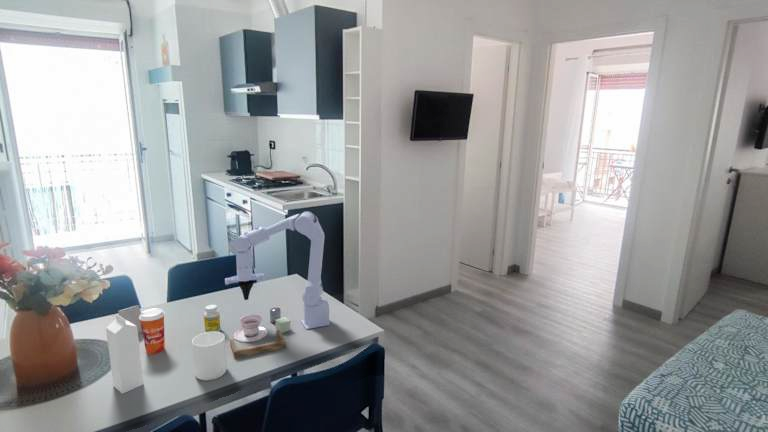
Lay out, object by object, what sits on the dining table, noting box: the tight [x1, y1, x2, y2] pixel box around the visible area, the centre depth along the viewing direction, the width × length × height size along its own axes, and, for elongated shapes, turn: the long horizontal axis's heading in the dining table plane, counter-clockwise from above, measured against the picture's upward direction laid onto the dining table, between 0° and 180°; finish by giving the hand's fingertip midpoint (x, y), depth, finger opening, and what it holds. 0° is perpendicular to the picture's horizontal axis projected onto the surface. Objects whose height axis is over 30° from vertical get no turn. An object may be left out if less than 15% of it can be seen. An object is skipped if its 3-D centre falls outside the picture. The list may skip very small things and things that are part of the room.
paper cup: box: [139, 307, 166, 355], centre depth 146 cm, size 8×8×14 cm
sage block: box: [275, 316, 291, 334], centre depth 164 cm, size 4×4×4 cm
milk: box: [105, 313, 144, 395], centre depth 126 cm, size 6×6×22 cm
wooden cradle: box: [229, 329, 287, 359], centre depth 151 cm, size 17×9×2 cm, turn 117°
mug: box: [191, 331, 228, 382], centre depth 135 cm, size 10×12×12 cm
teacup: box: [233, 314, 268, 343], centre depth 160 cm, size 12×12×6 cm
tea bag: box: [117, 304, 143, 334], centre depth 158 cm, size 4×7×10 cm, turn 140°
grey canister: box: [269, 307, 282, 325], centre depth 170 cm, size 4×4×5 cm
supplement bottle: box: [203, 304, 221, 332], centre depth 161 cm, size 5×5×10 cm
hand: (246, 298), depth 168 cm, fingers closed
